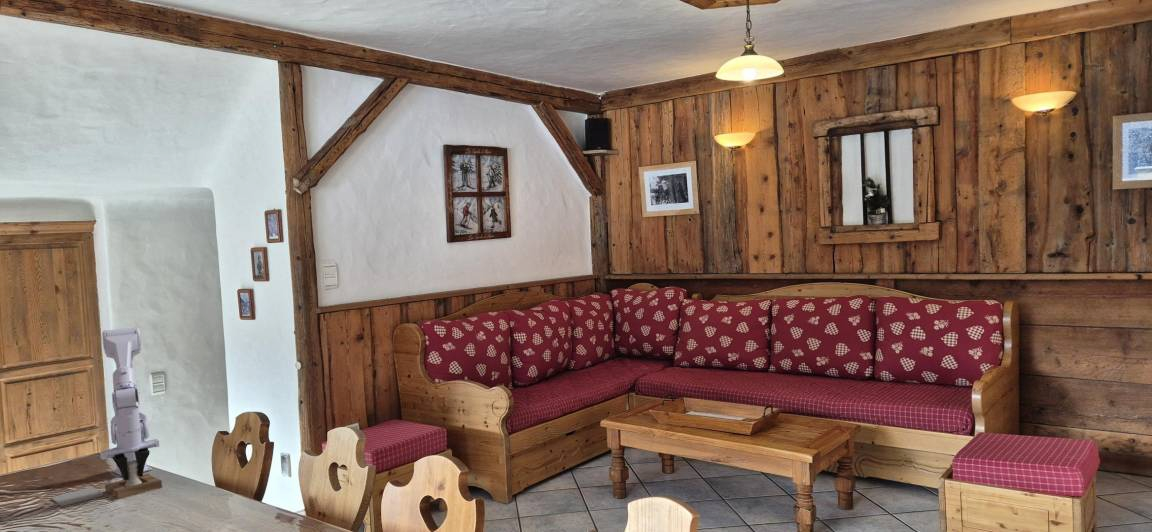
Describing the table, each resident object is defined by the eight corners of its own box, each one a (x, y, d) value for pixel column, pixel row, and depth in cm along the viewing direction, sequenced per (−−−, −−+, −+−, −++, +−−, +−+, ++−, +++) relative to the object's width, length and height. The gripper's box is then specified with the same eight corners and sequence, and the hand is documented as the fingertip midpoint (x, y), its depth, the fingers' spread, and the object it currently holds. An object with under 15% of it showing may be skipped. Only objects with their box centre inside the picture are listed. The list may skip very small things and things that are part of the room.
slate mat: (51, 499, 210) (51, 497, 210) (92, 488, 217) (92, 486, 217) (61, 506, 203) (61, 504, 203) (103, 495, 210) (103, 493, 210)
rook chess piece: (136, 491, 212) (134, 463, 212) (121, 492, 212) (118, 464, 212) (146, 486, 216) (144, 458, 216) (131, 486, 217) (128, 459, 216)
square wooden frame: (105, 491, 214) (105, 484, 214) (147, 480, 222) (147, 473, 222) (118, 499, 207) (118, 492, 206) (162, 487, 215) (161, 480, 215)
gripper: (104, 439, 205) (108, 488, 206) (161, 426, 216) (165, 473, 217) (96, 435, 210) (100, 483, 211) (152, 423, 221) (156, 468, 222)
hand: (132, 477), depth 214 cm, fingers closed on rook chess piece, 3 cm apart
